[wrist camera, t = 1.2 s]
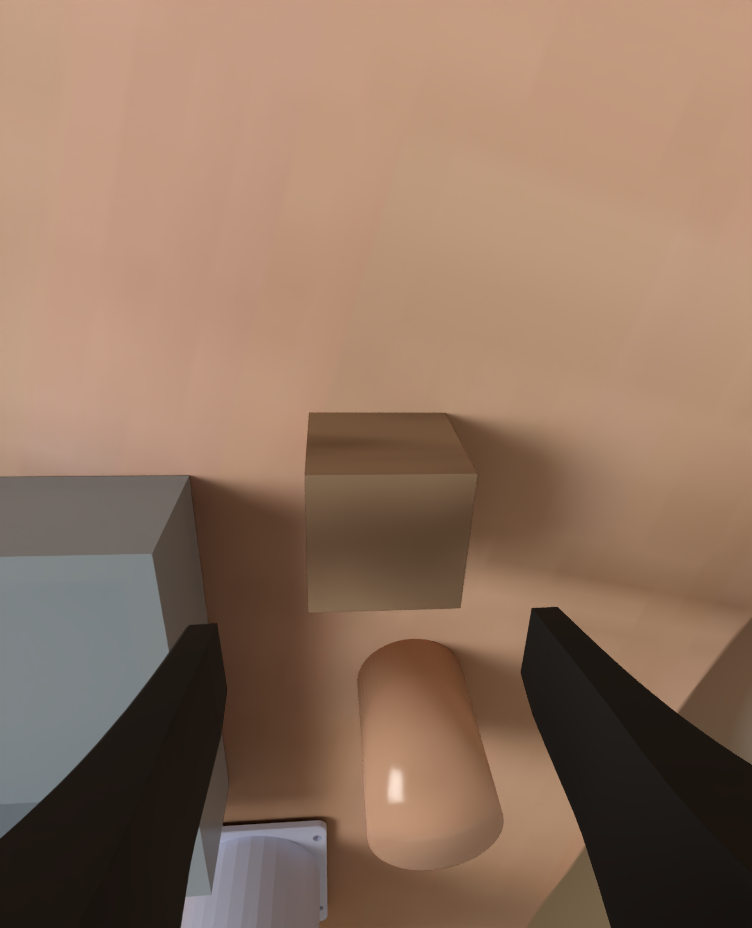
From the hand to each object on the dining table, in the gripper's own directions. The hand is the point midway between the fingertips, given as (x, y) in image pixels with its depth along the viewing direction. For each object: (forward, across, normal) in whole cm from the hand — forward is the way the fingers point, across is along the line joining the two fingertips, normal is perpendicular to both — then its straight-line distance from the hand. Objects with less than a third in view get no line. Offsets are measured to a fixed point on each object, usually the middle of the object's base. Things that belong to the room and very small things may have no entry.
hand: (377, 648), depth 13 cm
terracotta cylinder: (+9, -2, +11) cm, 15 cm away
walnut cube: (+10, -1, 0) cm, 10 cm away
